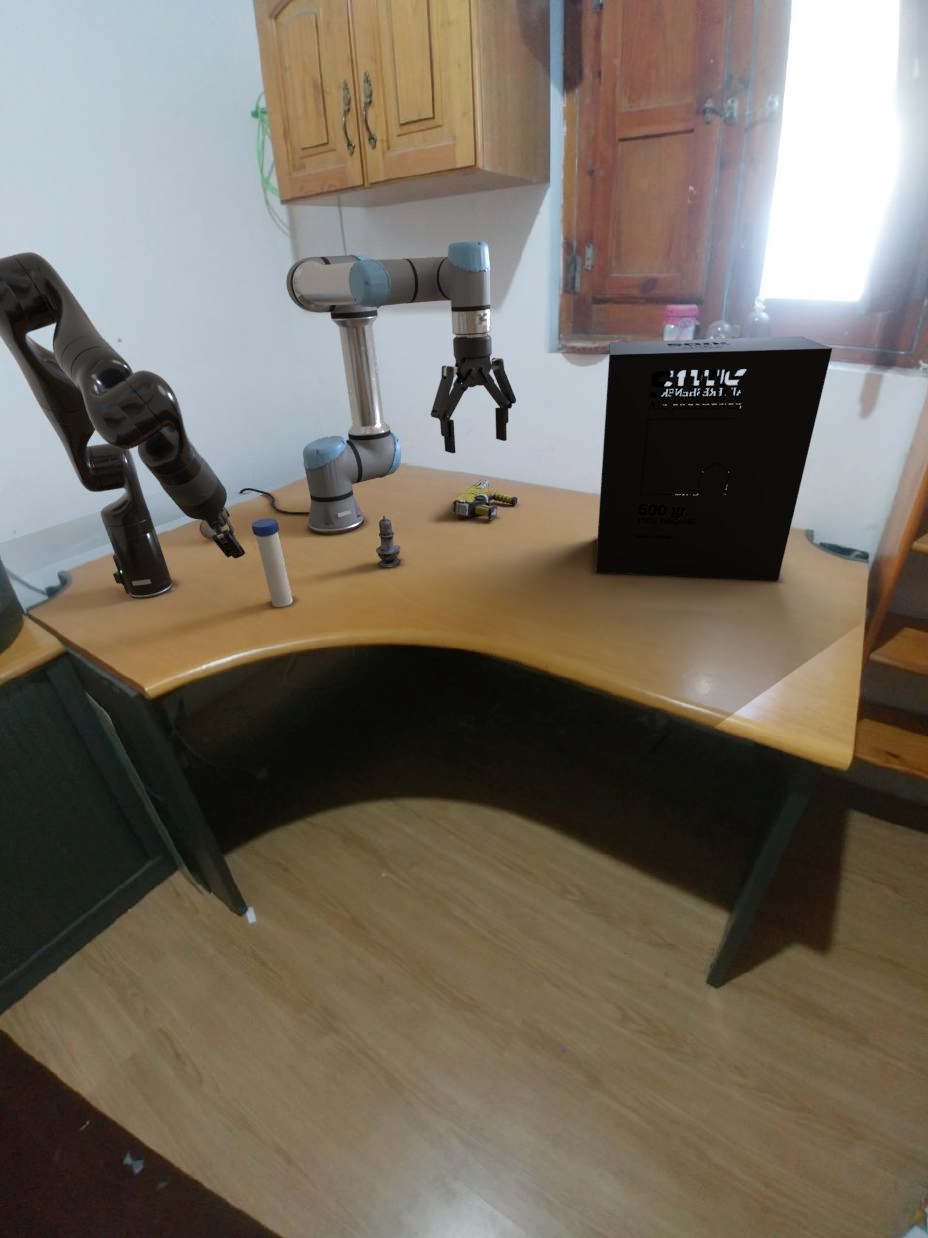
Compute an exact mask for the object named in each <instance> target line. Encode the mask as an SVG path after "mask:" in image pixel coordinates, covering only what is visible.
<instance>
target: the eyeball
mask: <svg viewBox="0 0 928 1238" xmlns="http://www.w3.org/2000/svg"><path fill="white" fill-rule="evenodd" d="M221 528H222V530H223V531H224V527H221ZM198 529H199V533H200V534H201V535H202V537H203V538H205V539H206V540H210V541H211V540H212V541H213V539H212V536H213V535H212V534H211V532H210V530H209V529H208V527H207V526H205V525H204V523H203V521H202V520H201V522H200V523H199V528H198ZM215 532H216V531H215Z"/></svg>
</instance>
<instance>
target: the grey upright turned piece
mask: <svg viewBox="0 0 928 1238" xmlns="http://www.w3.org/2000/svg"><path fill="white" fill-rule="evenodd" d="M378 528H379V533H378V536H379V537H380V538H379V539H380V546H378V547H376V549H375V552H376V553H377V555H378V557H379V558H380V559H381V560H379V562H378V565H379V567H382V568H395V567H398V566H399V565H400V564H401V562H402V560H401V559H400V558H398V557H399V556H400V551H401V546H399V544H395V540H394V535H395V532H393V526H392V521H391V519H389V518H386V515H383V516H382V519H380V520H379V522H378Z"/></svg>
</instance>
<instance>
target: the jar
mask: <svg viewBox="0 0 928 1238" xmlns="http://www.w3.org/2000/svg"><path fill="white" fill-rule="evenodd" d="M255 537H256V538H255V539H256V541H257V545H258V550H259V554H260V559H261V562H262V566H263V571H264V574H265V578H266V583H267V587H268V591H269V594H270V600H271V604H272V606H273V607H275V608H284V607H288V606H290V605H292V603H293V602H294V600H293V597H292V591H291V586H290V582H289V577H288V573H287V568H286V564H285V563H286V562H285V559H284V554H283V549H282V545H281V541H280V537H279V531H278V532H277V533H275V534H272V535H269V536H256V535H255Z"/></svg>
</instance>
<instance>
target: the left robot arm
mask: <svg viewBox="0 0 928 1238" xmlns="http://www.w3.org/2000/svg"><path fill="white" fill-rule="evenodd" d="M53 325H55V327H54V330H53V335H52V350H50V349H48V348H46V347H45V346H43V345H41V344H39V342H37V341H36V340H34V339H33V338H32V337H31V336H30V335H28V334H30V333H31V332H34V331H38V330H40V329H44V328H46V327H50V326H53ZM0 338H1V340H2V341H3V343H4V344H5V346H6V348H7V349H8V351H9V352H10V354H11V355H12V357H13V358H14V360H15V362H16V363H17V365H18V367H19V369H20V371H21V372H22V375H23V376H24V379H25V380H26V383H27V384H28V386H29V388H30V390H31V392H32V394H33V395H34V398H35V400H36V402H37V403H38V406H39V407H40V409H41V410H42V412H43V414H44V416H45V417H46V419H47V421H48V422H49V423H50V425H51V427H52V428H53V430H54V432H55V433H56V435H57V437H58V438H59V440H60V443H61V444H62V446H63V448H64V451H65V452H66V455H67V457H68V460H69V461H70V464H71V466H72V468H73V471H74V473H75V474H76V477H77V479H78V480H79V482H80V484H81V485H82V486H83V487H84V489H86V490H87V491H89V492H91V493H103V492H108V491H113V490H119V489H124V493H123V494H122V495H121V496H120V497H118V499H116V500H114V501H112V502H111V503H109V504H107V505H105V506H104V507H102V508H101V510H100V518H101V521H102V523H103V525H104V528H105V531H106V534H107V537H108V539H109V542H110V544H111V547H112V550H113V553H114V554H112V559H113V562H114V565H115V567H116V569H117V570H116V571H115V572H113V573H112V576H113V578H114V580H115V583H116V584H120V585H122V586H123V590H124V592H125V594H126V595H127V594H128V595H129V596H130V597H131V598H134V599H149V598H154V597H157V596H160V595H163V594H166V593H167V592H168V591H170V590H171V589H172V588H173V587H174V582H173V580H172V576H171V574H170V571H169V568H168V565H167V562H166V559H165V555H164V552H163V550H162V546H161V543H160V540H159V537H158V534H157V531H156V528H155V526H154V522H153V519H152V516H151V513H150V510H149V507H148V504H147V502H146V499H145V496H144V493H143V490H142V486H141V482H140V478H139V474H138V471H137V467H136V466H137V465H136V463H135V460H134V457H133V454H132V452H131V450H132V449H134V448H137V453H138V457H139V459H140V461H141V462H142V463H143V464H144V465H145V467H146V468H147V469H148V471H149V472H150V473H151V474H152V475H153V477H155V478H156V480H157V481H158V483H159V485H160V487H161V488H162V489H163V491H164V492H165V493H166V494H167V496H169V498H170V499H171V500H172V501H173V503H174V504H175V505H176V506H177V507H178V508H179V509H180V511H181V513H183V515H185V516H186V517H188V518H191V519H193V520H200V521H201V522H202V521H203V523H204V525H205V526H207V527H208V529H209V530H210V532H211V534H212V535H213V536H212V539H213V540H212V541H213V542H214V543H215V544H216V546H217V547H218V548H219V550H221V551H222V553H223V554H224V556H225V557H226V558H227V559H228V558H231V557H232V558H233V559H239V558H241V557H243V556H244V555H246V551H245V549H244V548H243V546H242V545H241V543H240V542H239V540H238V539H237V537H236V535H235V528H234V526H233V524H232V522H231V521H230V518H229V517H230V516H231V515H230V512H229V510H228V509H227V508H226V506H225V505H226V503H227V499H228V493H227V490H226V487H225V486H224V485H223V483H222V481H221V480H220V479H219V477H218V476H217V474H216V473H215V471H214V470H213V469H212V467H211V465H210V464H209V462H208V461H207V460H206V459H205V458H204V457H203V456H202V455H201V454H200V453H199V451H198V450H197V448H196V447H195V446H194V444H193V443H192V441H191V439H190V438H189V436H188V433H187V429H186V427H185V423H184V418H183V414H182V410H181V406H180V402H179V401H178V398H177V396H176V394H175V391H174V390H173V388H172V387H171V386H170V384H169V383H168V382H167V381H166V380H165V379H164V378H163V377H162V376H161V375H159V374H157V373H156V372H153V371H149V370H145V369H144V370H137V371H133V370H132V368H131V366H130V365H129V363H128V362H127V361H126V359H124V358H123V356H122V355H120V353H119V352H118V351H116V349H115V348H114V347H113V346H112V345H111V344H110V343H109V342H108V341H107V340H106V339H105V338H104V337H103V335H102V334H101V333H100V332H99V331H98V329H97V327H96V326H95V325H94V323H93V321H92V320H91V318H90V317H89V316H88V314H87V312H86V311H85V309H84V308H83V306H82V305H81V303H80V302H79V301H78V299H77V298H76V296H75V295H74V294H73V292H72V291H71V289H70V288H69V286H68V285H67V283H66V282H65V280H64V279H63V278H62V276H61V274H59V272H58V271H57V270H56V268H55V267H54V266H53V265H52V264H51V263H50V262H49V261H48V260H47V259H46V258H44V257H43V256H41V255H40V254H38V253H36V252H29V251H27V252H20V253H19V252H18V253H16V254H12V255H8V256H5V257H1V258H0ZM95 432H97V434H98V435H99V436H100V437H101V438H102V439H103V441H105V442H106V443H101V444H99V443H98V444H93V445H88V444H89V442H90V439H92V436H93V435H94V433H95ZM225 526H227V529H223V530H222V528H221V527H223V528H225ZM215 531H216V532H215Z"/></svg>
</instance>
